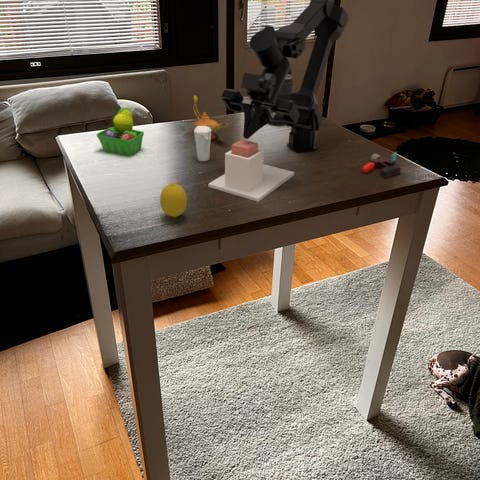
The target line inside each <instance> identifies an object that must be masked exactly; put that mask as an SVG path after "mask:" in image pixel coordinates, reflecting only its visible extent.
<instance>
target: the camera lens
mask: <svg viewBox="0 0 480 480" xmlns="http://www.w3.org/2000/svg"><path fill="white" fill-rule="evenodd" d="M293 82H294V81H293V76H292V74H291V75H289V74H287V75H286V78H285V80H284V82H283V85H282V87H281V90H282V94H281V95H278V96H277V98H276V100H275V104H276V102H277V100H278V99H286V100H290V96H291V94H292V93H293V85H294V84H293ZM283 116H284V114H279V113H276V114H275V115H274V117H273V119H274V121H273V122H269V123H268V124H269V125H270V126H285V125H286V122H285V120H284V118H283ZM286 126H287V125H286Z"/></svg>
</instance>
